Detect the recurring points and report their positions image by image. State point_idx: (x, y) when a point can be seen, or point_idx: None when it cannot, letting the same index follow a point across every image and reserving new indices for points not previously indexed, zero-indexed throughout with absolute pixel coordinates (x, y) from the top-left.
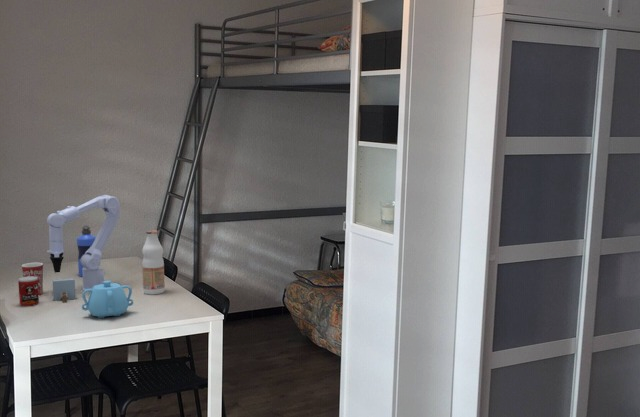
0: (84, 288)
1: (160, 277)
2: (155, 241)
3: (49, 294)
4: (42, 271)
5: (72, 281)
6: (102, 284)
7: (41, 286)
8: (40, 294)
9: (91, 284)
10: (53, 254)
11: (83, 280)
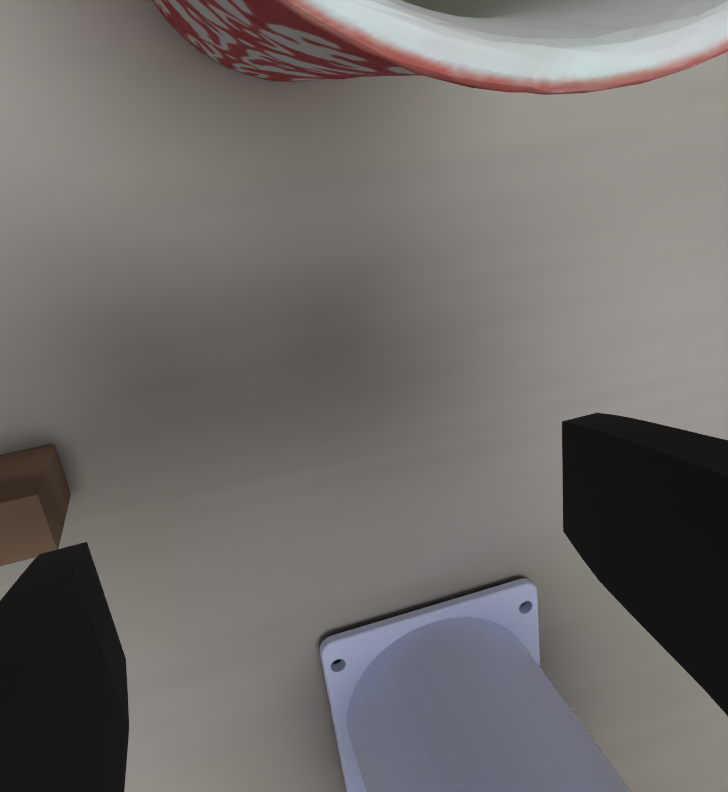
0: (386, 649)
1: None
2: None
3: (206, 213)
4: (374, 69)
5: None
6: None
7: (243, 61)
8: (201, 51)
9: (363, 779)
10: None
11: (439, 719)
